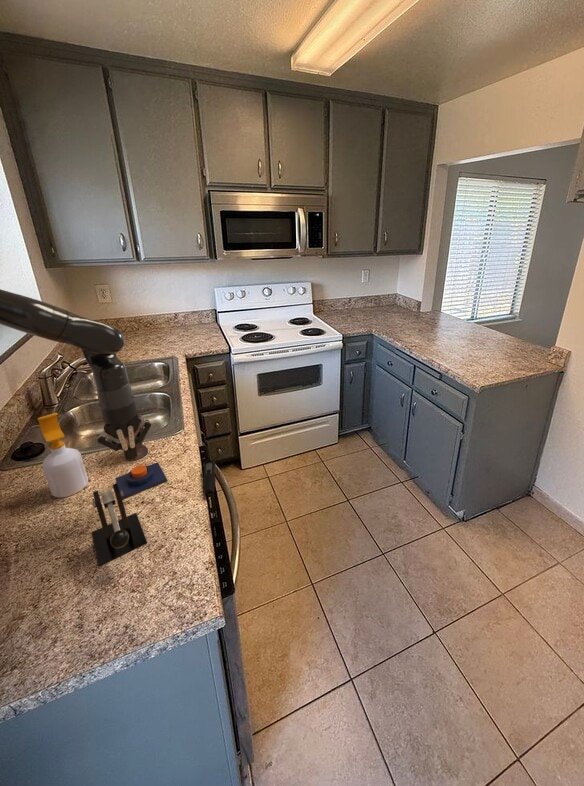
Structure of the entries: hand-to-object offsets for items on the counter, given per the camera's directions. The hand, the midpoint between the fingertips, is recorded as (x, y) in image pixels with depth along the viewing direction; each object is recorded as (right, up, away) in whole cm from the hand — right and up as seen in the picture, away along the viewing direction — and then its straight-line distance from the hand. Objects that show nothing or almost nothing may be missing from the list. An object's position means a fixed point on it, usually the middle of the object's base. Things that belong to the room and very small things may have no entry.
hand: (131, 459), depth 95 cm
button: (-3, -7, +10) cm, 13 cm away
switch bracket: (+2, -18, -8) cm, 20 cm away
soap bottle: (-24, -12, +10) cm, 28 cm away
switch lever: (+4, -10, -14) cm, 18 cm away
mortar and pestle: (-13, -6, +26) cm, 30 cm away
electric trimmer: (+17, -10, +13) cm, 23 cm away
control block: (-3, -11, +11) cm, 16 cm away
